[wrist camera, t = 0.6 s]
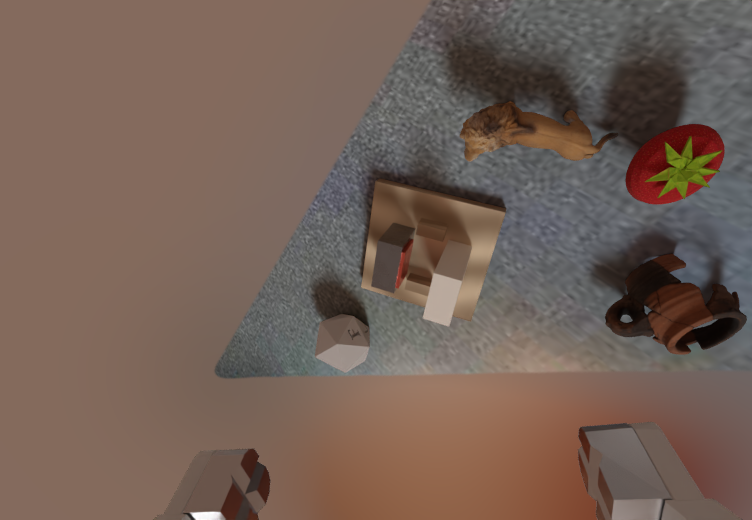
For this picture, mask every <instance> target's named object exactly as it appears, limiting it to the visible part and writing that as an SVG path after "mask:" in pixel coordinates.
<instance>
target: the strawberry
mask: <svg viewBox="0 0 752 520" xmlns="http://www.w3.org/2000/svg"><path fill="white" fill-rule="evenodd" d="M723 157H724V144H723V141H722V139H721V137H720V135H719V134H718V133H717V132H716V131H715V130H714V129H712V128H711V127H709V126H705V125H701V124H689V125H682V126H679V127H675V128H672V129H670V130H667V131H665V132H663V133H660V134H659V135H657V136H655V137H653V138H652V139H651V140H649V141H648V142H647V143H645V144H644V145H643V146H642V147H641V148H640V149H639V150H638V152H637V153H636V154H635V155H634V157H633V159H632V161H631V162H630V165H629V167H628V170H627V173H626V187H627V189H628V192H629V193H630V194H631V195H632V197H634V198H635V199H637V200H639V201H642V202H645V203H649V204H666V203H671V202H675V201H678V200H681V199H683V198H684V199H685V197H687V196H689V195H691V194H693V193H694V192H696V191H697V190H699V189H700V188H702V187H703V186H706V187H709V186H708V184H707V182H708V181H709V180H710V179H711V178H712V177H713V176H714V175H715V173H717V172H720V171H719V170H718V169H719V167H720V165H721V163H722V161H723ZM709 188H710V187H709Z"/></svg>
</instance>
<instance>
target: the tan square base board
mask: <svg viewBox="0 0 752 520" xmlns="http://www.w3.org/2000/svg"><path fill="white" fill-rule="evenodd" d="M505 213H506V208H502V207H498V206H494V205H490V204H485V203H481V202H477V201H473V200H469V199H464V198H460V197H456V196H452V195H448V194H443V193H439V192H435V191H431V190H427V189H422V188H418V187H414V186H410V185H406V184H402V183H397V182H393V181H389V180H385V179H381V178H379V179H378V180H377V181H376V182H375V189H374V197H373V204H372V211H371V219H370V226H369V234H368V241H367V249H366V256H365V263H364V271H363V278H362V286H361V288H364V289H368V290H371V291H374V292H377V293H381V294H384V295H387V296H390V297H393V298H397V299H400V300H403V301H406V302H409V303H413V304H416V305H419V306H422V307H426V303H427V299H428V295H429V290H430V286H431V282H432V278H433V274H434V271H435V269H436V267H437V265H438V262H439V260H440V258H441V256H442V253H443V251H444V249H445V247H446V245H447V242H448V240H451V241H455V242H459V243H463V244H466V245H470V246H473V247H472V250H471V254H470V257H469V261H468V264H467V268H466V271H465V275H464V278H463V282H462V285H461V288H460V292H459V295H458V298H457V302H456V305H455V308H454V312H453V315H452V316H454V317H457V318H461V319H464V320H467V321H470V322H471V319H472V316H473V313H474V310H475V307H476V304H477V300H478V297H479V294H480V291H481V288H482V285H483V282H484V279H485V275H486V272H487V269H488V266H489V263H490V260H491V257H492V254H493V250H494V247H495V244H496V241H497V238H498V235H499V232H500V229H501V225H502V222H503V219H504V216H505ZM392 223H397V224H401V225H404V226H408V227H412V228H416V229H415V234H414V242H413V247H412V252H411V257H410V262H409V267H408V272H407V275H406V277H405V278H404V280H403V282H402V284H401V285H400V287H399V289H396V291H395V293H391V292H388V291H384V290H381V289H378V288H375V287H372V286H371V284H372V277H373V270H374V264H375V257H376V250H377V243H378V240H379V239H380V238H381V236H382V235H383V234H384V233H385V232H386V230H387V229H388V228H389V227H390V226H391V225H392Z"/></svg>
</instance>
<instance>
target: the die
mask: <svg viewBox="0 0 752 520" xmlns="http://www.w3.org/2000/svg"><path fill="white" fill-rule="evenodd" d="M369 347H370V334H369V327H368V326H366V325H365V324H364V323H362V322H361V321H359V320H358V319H357V318H355V317H354V316H350V315H345V314H339V315H337V316H334V317H332V318H329V319H327V320H324V321H322V322H320V326H319V332H318V339H317V346H316V352H315V357H316V358H318V359H320V360H322V361H324V362H326V363H328V364H329V365H331V366H333V367H335V368H337V369H339V370H341V371H343V372H345V373H346V372H347V371H349V370H351V369H352V368H354V367H356V366H357V365H359V364H360V363H362V362H364V361H365V359H366V356H367V353H368V350H369Z"/></svg>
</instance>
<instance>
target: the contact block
mask: <svg viewBox="0 0 752 520" xmlns="http://www.w3.org/2000/svg"><path fill="white" fill-rule="evenodd" d="M415 229H416V228H412V227H408V226H404V225H401V224H397V223H392V225H391V226H390V227H389V228H388V229H387V230H386V232H385V233H384V234H383V235H382V236H381V238H380V239H379V240H378V243H377V250H376V257H375V264H374V270H373V277H372V284H371V286H372V287H375V288H378V289H381V290H384V291H388V292H391V293H395V291H396V289H399V287H400V285H401V284H402V282H403V280H404V278H405V277H406V275H407V272H408V267H409V262H410V257H411V252H412V247H413V242H414V234H415Z"/></svg>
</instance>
